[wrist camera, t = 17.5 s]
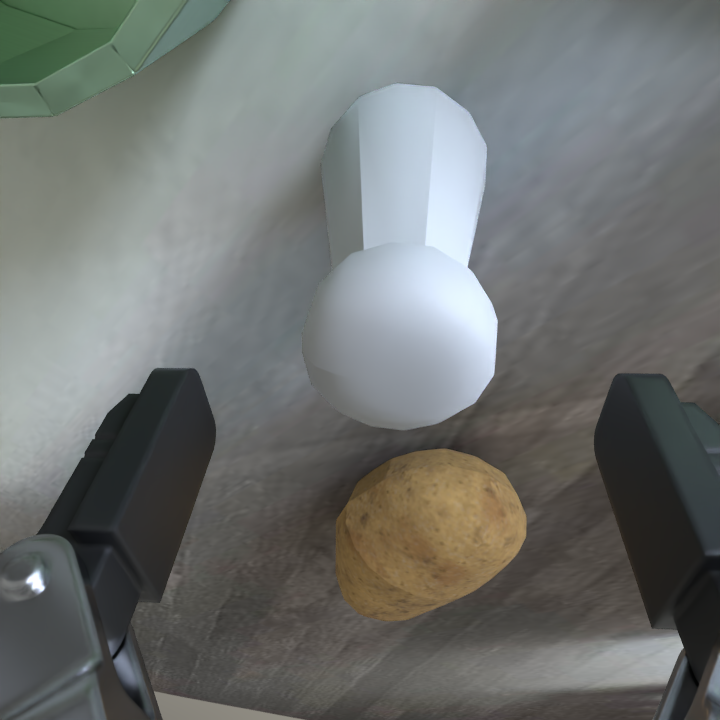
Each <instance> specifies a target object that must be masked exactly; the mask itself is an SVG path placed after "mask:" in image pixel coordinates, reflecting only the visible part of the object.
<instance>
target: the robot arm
mask: <svg viewBox="0 0 720 720" xmlns="http://www.w3.org/2000/svg"><path fill="white" fill-rule="evenodd" d="M215 439H216V426H215V420H214V417H213V414H212V411H211V408H210V405H209V402H208V399H207V396H206V393H205V390H204V387H203V384H202V381H201V378H200V376H199V373H198V372H197V370H196V369H193V368H156V369H154V370H153V371H152V372H151V374H150V376H149V377H148V379H147V381H146V383H145V385H144V387H143V389H142V390H141V392H140V394H128V395H127V396H126V397H125V398H124V399H123V400H122V401H120V402H119V403H118V404H117V405H116V406H115V407H114V408H113V409H112V410H110V411H109V412H108V413H107V415H106V417H105V419H104V420H103V422H102V424H101V426H100V427H99V429H98V431H97V432H96V434H95V439H92V441H91V443H90V445H89V446H88V448H87V450H86V451H85V457H84V458H81V460H80V462H79V464H78V465H77V467H76V469H75V471H74V472H73V474H72V476H71V477H70V479H69V481H68V483H67V484H66V486H65V488H64V490H63V491H62V493H61V495H60V496H59V498H58V500H57V502H56V503H55V505H54V507H53V509H52V510H51V512H50V514H49V516H48V517H47V519H46V521H45V522H44V524H43V526H42V527H41V529H40V530H39V532H38V533H37V535H35V536H31V537H28V538H25V539H23V540H21V541H19V542H17V543H15V544H13V545H11V546H10V547H8V548H7V549H5V550H4V551H3V552H2V553H0V720H163V719H162V717H161V713H160V710H159V707H158V704H157V701H156V698H155V695H154V691H153V688H152V685H151V682H150V679H149V676H148V673H147V669H146V666H145V663H144V660H143V657H142V654H141V651H140V648H139V645H138V641H137V638H136V635H135V632H134V629H133V626H132V624H131V622H130V621H131V618H132V616H133V613H134V611H135V608H136V605H137V603H138V602H153V603H160V601H161V598H162V596H163V593H164V590H165V587H166V584H167V581H168V578H169V576H170V573H171V570H172V567H173V564H174V561H175V558H176V556H177V553H178V550H179V547H180V544H181V541H182V538H183V536H184V533H185V530H186V527H187V524H188V521H189V518H190V516H191V513H192V510H193V507H194V504H195V501H196V498H197V496H198V493H199V490H200V487H201V484H202V481H203V478H204V476H205V473H206V470H207V467H208V464H209V461H210V458H211V456H212V453H213V450H214V445H215ZM594 450H595V456H596V460H597V463H598V466H599V469H600V472H601V475H602V478H603V481H604V484H605V488H606V491H607V494H608V497H609V500H610V503H611V506H612V509H613V512H614V515H615V518H616V521H617V524H618V527H619V530H620V533H621V536H622V539H623V542H624V545H625V548H626V551H627V554H628V557H629V560H630V563H631V566H632V569H633V572H634V575H635V578H636V581H637V584H638V587H639V590H640V593H641V596H642V599H643V602H644V605H645V608H646V612H647V615H648V618H649V621H650V624H651V627H652V629H673V630H678V633H679V635H680V638H681V641H682V644H683V646H684V648H683V650H682V651H681V653H680V654H679V656H678V659H677V661H676V664H675V666H674V669H673V671H672V674H671V676H670V679H669V681H668V684H667V686H666V689H665V691H664V694H663V696H662V699H661V701H660V704H659V706H658V709H657V711H656V713H655V716H654V718H653V720H720V426H719V424H718V423H717V422H715V421H714V420H713V419H712V418H711V417H710V416H709V415H707V414H706V413H705V412H704V411H703V410H702V409H701V408H699V407H698V406H697V405H696V404H695V403H683V402H680V401H679V399H678V397H677V395H676V393H675V391H674V389H673V388H672V386H671V384H670V382H669V380H668V379H667V378H666V376H664V375H663V374H617V375H616V376H615V377H614V379H613V381H612V384H611V386H610V389H609V392H608V395H607V398H606V400H605V403H604V406H603V409H602V412H601V414H600V417H599V420H598V423H597V426H596V429H595V435H594Z"/></svg>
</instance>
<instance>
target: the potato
mask: <svg viewBox="0 0 720 720" xmlns="http://www.w3.org/2000/svg"><path fill="white" fill-rule="evenodd" d="M525 538H526V514H525V512H524V509H523V507H522V505H521V502H520V500H519V498H518V495H517V494H516V492H515V490H514V489H513V487H512V485H511V484H510V482H509V480H508V478H507V477H506V475H505V473H503V472H501V471H500V470H498V469H496V468H495V467H493V466H491V465H490V464H488V463H486V462H485V461H483V460H481V459H480V458H478V457H475V456H472V455H469V454H466V453H462V452H458V451H454V450H450V449H446V448H443V449H432V450H423V451H415V452H412V453H408V454H405V455H402V456H398V457H395V458H392V459H390V460H388V461H387V462H385V463H384V464H382V465H380V466H379V467H377V468H375V469H374V470H372V471H371V472H370V473H369V474H367V475H366V476H365V477H363V478H362V479H361V480H360V481H358V482H357V484H356V486H355V488H354V490H353V492H352V495H351V497H350V499H349V501H348V503H347V505H346V506H345V508H344V509H343V511H342V512H341V514H340V515H339V517H338V518H337V520H336V576H337V580H338V583H339V587H340V590H341V592H342V595H343V597H344V600H345V601H346V602H347V603H348V604H349V605H351V606H352V607H353V608H354V609H355V610H356V611H357V612H358V613H359V614H361V615H363V616H366V617H370V618H374V619H378V620H382V621H398V620H408V619H410V618H413V617H415V616H418V615H420V614H423V613H425V612H427V611H430V610H433V609H435V608H438V607H440V606H443V605H445V604H447V603H449V602H452V601H454V600H456V599H459V598H461V597H463V596H465V595H467V594H469V593H471V592H473V591H475V590H476V589H478V588H479V587H481V586H482V585H483V584H485V583H486V582H488V581H489V580H490V579H492V578H493V577H494V576H495V575H496V574H498V573H499V572H500V571H501V570H502V569H503V568H504V567H506V566H507V565H508V564H509V562H510V561H511V560H512V559H513V558H514V557H515V556H516V555H517V553H518V552H519V550H520V548H521V546H522V544H523V542H524V540H525Z"/></svg>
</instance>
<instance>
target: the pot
mask: <svg viewBox="0 0 720 720" xmlns="http://www.w3.org/2000/svg"><path fill="white" fill-rule="evenodd" d="M229 2H230V0H0V118H28V117H53V116H58V115H59V114H61V113H63V112H65V111H67V110H69V109H71V108H73V107H75V106H77V105H79V104H80V103H82V102H84V101H86V100H88V99H90V98H92V97H94V96H96V95H98V94H100V93H102V92H103V91H105V90H107V89H109V88H111V87H113V86H115V85H117V84H119V83H121V82H123V81H125V80H126V79H128V78H130V77H132V76H134V75H136V74H137V73H138V72H140V71H141V70H143V69H144V68H146V67H147V66H149V65H150V64H152V63H153V62H155V61H156V60H157V59H159V58H160V57H162V56H163V55H165V54H166V53H168V52H169V51H171V50H172V49H173V48H175V47H176V46H178V45H179V44H181V43H182V42H184V41H185V40H187V39H188V38H189V37H191V36H192V35H194V34H195V33H197V32H198V31H200V30H201V29H203V28H204V27H206V26H207V25H208V24H210V23H211V22H213V21H214V19H216V18H217V17H218V15H219V14H220V13H221V11H222V10H223V9H224V7H225V6H226V5H227V4H228V3H229Z"/></svg>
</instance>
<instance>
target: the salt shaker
mask: <svg viewBox="0 0 720 720" xmlns="http://www.w3.org/2000/svg"><path fill="white" fill-rule="evenodd" d="M486 160H487V145H486V143H485V142H484V140H483V138H482V136H481V134H480V132H479V130H478V128H477V126H476V124H475V122H474V120H473V119H472V117H471V115H470V113H469V112H468V111H467V110H466V109H464V108H463V107H462V106H460V105H459V104H458V103H456V102H455V101H454V100H452V99H451V98H450V97H448V96H447V95H446V94H444V93H443V92H442V91H440V90H439V89H438V88H436V87H433V86H423V85H412V84H402V83H395V84H392V85H389V86H386V87H384V88H381V89H378V90H375V91H373V92H370V93H367V94H364V95H361V96H360V97H359V98H358V99H357V100H356V101H355V102H354V103H353V104H352V105H351V107H350V108H349V109H348V110H347V111H346V112H345V113H344V115H343V116H342V117H341V118H340V119H339V120H338V121H337V122H336V124H335V125H334V126H333V127H332V128H331V131H330V134H329V137H328V141H327V144H326V148H325V151H324V155H323V158H322V162H321V172H322V182H323V191H324V201H325V210H326V220H327V229H328V239H329V248H330V258H331V267H332V272H331V273H329V274H328V275H327V276H326V277H325V278H324V279H323V280H322V281H321V282H320V283H319V284H318V286H317V289H316V292H315V295H314V298H313V301H312V304H311V307H310V310H309V312H308V315H307V318H306V321H305V324H304V328H303V331H302V354H303V357H304V361H305V364H306V368H307V371H308V375H309V378H310V382H311V384H312V385H313V386H314V388H315V389H316V390H317V391H318V392H319V393H320V394H321V395H322V396H323V397H324V398H325V399H326V400H327V402H328V403H329V404H330V405H331V406H332V407H333V408H334V409H336V410H337V411H339V412H340V413H342V414H344V415H346V416H349V417H351V418H353V419H355V420H358V421H360V422H362V423H364V424H367V425H369V426H371V427H380V428H388V429H396V430H409V429H414V428H419V427H424V426H429V425H434V424H438V423H440V422H442V421H444V420H446V419H447V418H449V417H451V416H453V415H454V414H456V413H458V412H460V411H461V410H463V409H465V408H467V407H468V406H470V405H472V404H474V403H475V402H476V401H477V399H478V398H479V396H480V395H481V393H482V392H483V390H484V389H485V387H486V386H487V385H488V383H489V382H490V380H491V379H492V377H493V376H494V369H495V356H496V340H497V323H498V321H497V317H496V314H495V311H494V308H493V305H492V303H491V301H490V300H489V298H488V296H487V295H486V293H485V292H484V290H483V288H482V287H481V285H480V283H479V282H478V280H477V278H476V277H475V275H474V274H473V272H472V271H471V270H470V269H468V268H467V267H468V263H469V258H470V253H471V249H472V244H473V240H474V235H475V230H476V226H477V221H478V216H479V212H480V207H481V202H482V198H483V193H484V188H485V183H486Z"/></svg>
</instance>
